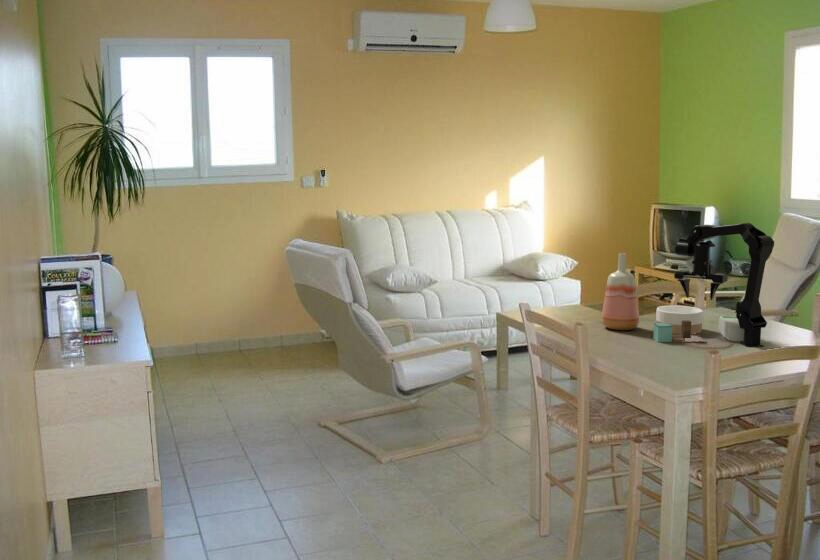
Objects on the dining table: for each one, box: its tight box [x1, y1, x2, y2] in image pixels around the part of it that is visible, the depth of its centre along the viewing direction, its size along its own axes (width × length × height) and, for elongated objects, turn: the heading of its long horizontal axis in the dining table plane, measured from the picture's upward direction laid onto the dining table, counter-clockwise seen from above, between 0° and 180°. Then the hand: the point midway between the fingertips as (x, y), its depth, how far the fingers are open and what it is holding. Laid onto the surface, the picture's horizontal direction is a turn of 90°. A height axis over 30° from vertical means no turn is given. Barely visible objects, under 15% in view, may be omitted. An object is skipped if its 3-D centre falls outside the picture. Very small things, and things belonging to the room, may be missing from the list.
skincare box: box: [718, 315, 744, 342], centre depth 332 cm, size 8×7×16 cm
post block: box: [671, 320, 706, 343], centre depth 327 cm, size 9×12×7 cm
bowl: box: [655, 304, 704, 335], centre depth 344 cm, size 17×17×8 cm
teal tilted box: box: [652, 322, 673, 343], centre depth 326 cm, size 5×5×6 cm
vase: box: [600, 252, 640, 331], centre depth 345 cm, size 14×14×30 cm
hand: (699, 298), depth 336 cm, fingers open, 9 cm apart
